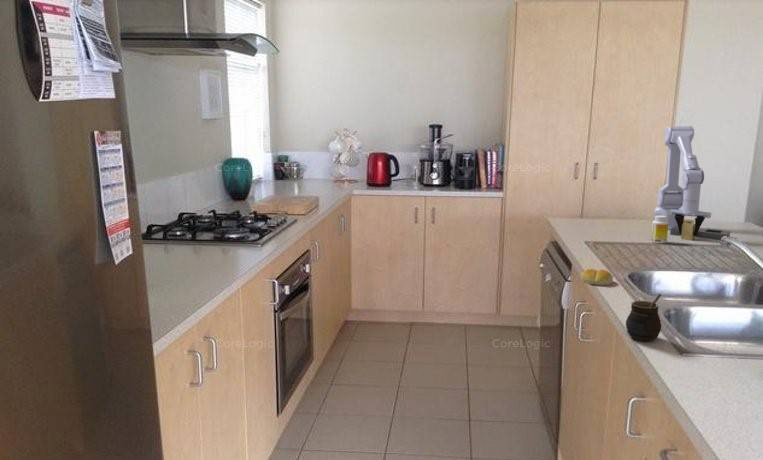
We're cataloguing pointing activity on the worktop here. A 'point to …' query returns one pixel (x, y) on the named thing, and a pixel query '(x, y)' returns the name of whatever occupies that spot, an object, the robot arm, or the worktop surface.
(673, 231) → the rail
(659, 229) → the supplement bottle
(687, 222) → the beige wooden block
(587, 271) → the bread roll
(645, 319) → the mate gourd
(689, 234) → the tan wooden block
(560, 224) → the worktop surface
